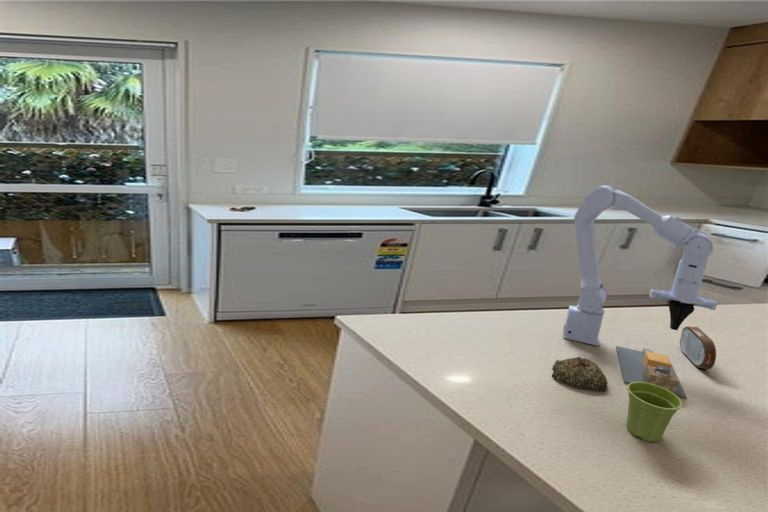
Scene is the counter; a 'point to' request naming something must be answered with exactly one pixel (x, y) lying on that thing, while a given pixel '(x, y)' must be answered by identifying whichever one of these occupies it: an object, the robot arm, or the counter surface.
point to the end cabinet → (661, 379)
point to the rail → (646, 350)
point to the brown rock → (579, 374)
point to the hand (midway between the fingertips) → (673, 328)
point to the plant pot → (650, 410)
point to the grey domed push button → (662, 370)
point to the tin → (698, 347)
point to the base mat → (637, 368)
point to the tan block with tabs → (656, 360)
